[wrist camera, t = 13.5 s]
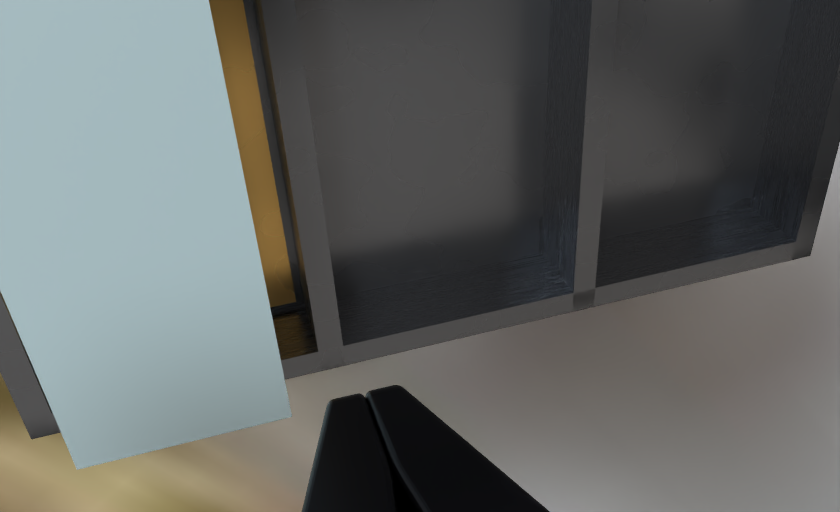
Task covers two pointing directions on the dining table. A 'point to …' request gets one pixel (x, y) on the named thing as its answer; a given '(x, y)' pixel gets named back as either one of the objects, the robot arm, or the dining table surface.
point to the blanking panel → (130, 227)
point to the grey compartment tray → (509, 160)
